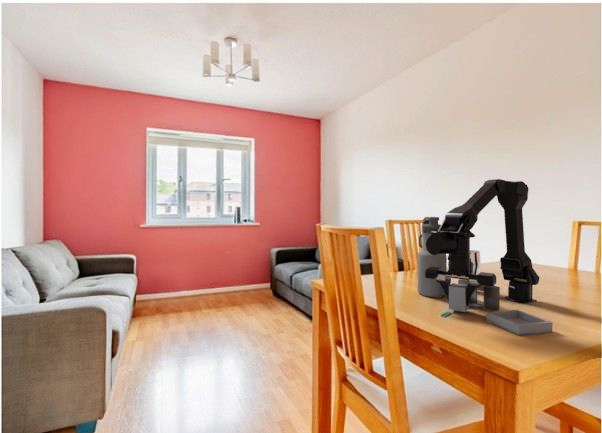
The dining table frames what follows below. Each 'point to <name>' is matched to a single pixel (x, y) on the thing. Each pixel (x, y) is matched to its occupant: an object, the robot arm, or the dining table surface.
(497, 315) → the tray
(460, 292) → the block
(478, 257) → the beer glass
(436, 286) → the water bottle
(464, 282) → the crank arm
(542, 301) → the dining table surface
